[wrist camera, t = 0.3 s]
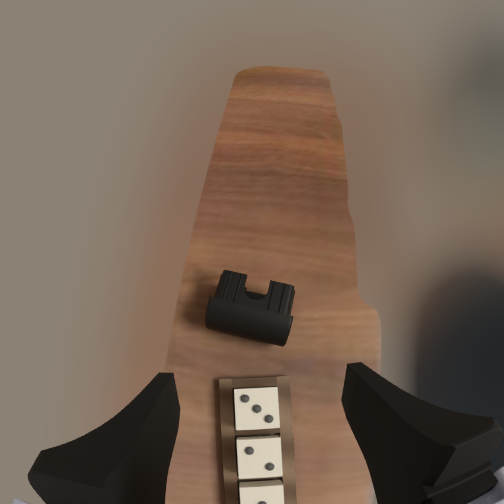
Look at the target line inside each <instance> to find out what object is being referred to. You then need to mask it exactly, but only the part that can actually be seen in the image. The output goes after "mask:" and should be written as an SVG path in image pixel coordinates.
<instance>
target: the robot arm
mask: <svg viewBox="0 0 504 504" xmlns="http://www.w3.org/2000/svg"><path fill="white" fill-rule="evenodd" d="M341 401H342V404H343V408H344V412H345V415H346V418H347V421H348V423H349V425H350V427H351V429H352V432H353V434H354V436H355V438H356V440H357V442H358V444H359V447H360V449H361V451H362V453H363V455H364V458H365V460H366V463H367V466H368V469H369V472H370V476H371V479H372V483H373V486H374V490H375V494H376V498H377V502H378V504H504V467H502V468H500V469H499V470H497V471H496V472H495V473H494V474H493V473H492V472H491V470H490V469H492V467H493V465H492V463H491V462H490V461H489V460H490V458H491V457H492V455H493V454H494V452H495V450H496V449H497V447H498V446H499V444H500V442H501V440H502V437H503V429H502V428H501V427H500V426H499V425H498V424H497V423H496V421H495V420H494V419H493V418H492V417H485V416H475V415H468V414H463V413H459V412H455V411H451V410H447V409H444V408H441V407H438V406H435V405H433V404H430V403H427V402H425V401H423V400H421V399H419V398H416V397H415V396H413V395H411V394H409V393H407V392H405V391H403V390H402V389H400V388H398V387H397V386H395V385H393V384H392V383H391V382H389V381H387V380H386V379H385V378H383V377H381V376H380V375H379V374H377V373H376V372H374V371H373V370H372V369H370V368H369V367H367V366H366V365H364V364H363V363H361V362H358V363H350V364H347V369H346V375H345V381H344V387H343V393H342V399H341ZM179 417H180V405H179V400H178V395H177V390H176V385H175V379H174V373H158V374H157V375H156V376H155V377H154V378H153V380H152V381H151V382H150V383H149V384H148V385H147V386H146V387H145V388H144V389H143V390H142V391H141V392H140V394H138V395H137V396H136V397H135V398H134V400H132V401H131V402H130V403H129V404H128V405H127V406H126V407H125V408H124V409H123V410H121V411H120V412H119V413H118V414H117V415H115V416H114V417H113V418H112V419H110V420H109V421H107V422H106V423H104V424H103V425H101V426H100V427H98V428H97V429H94V430H93V431H91V432H89V433H87V434H86V435H84V436H81V437H79V438H77V439H75V440H73V441H70V442H68V443H65V444H62V445H59V446H56V447H53V448H49V449H46V450H42V451H41V452H40V453H39V455H38V457H37V459H36V460H35V462H34V464H33V466H32V468H31V470H30V471H29V473H28V480H29V482H30V484H31V486H32V487H33V489H34V490H35V491H36V492H37V494H38V495H39V496H40V497H41V498H42V500H43V501H44V502H45V503H46V504H165V494H166V483H167V475H168V470H169V465H170V461H171V457H172V453H173V449H174V445H175V441H176V437H177V432H178V427H179ZM12 504H29V503H27V502H25V501H22V500H20V499H18V498H14V500H13V502H12Z"/></svg>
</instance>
